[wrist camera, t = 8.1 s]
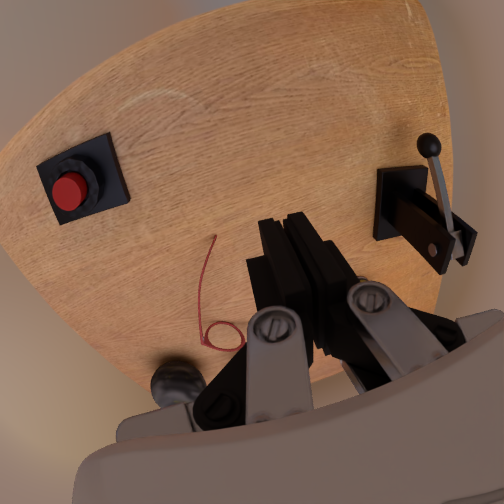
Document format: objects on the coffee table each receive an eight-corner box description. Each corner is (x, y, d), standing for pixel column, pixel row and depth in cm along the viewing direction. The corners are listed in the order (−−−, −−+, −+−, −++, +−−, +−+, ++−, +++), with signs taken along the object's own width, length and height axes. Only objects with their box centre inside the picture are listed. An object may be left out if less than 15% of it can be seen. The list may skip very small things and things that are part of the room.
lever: (408, 137, 24) (423, 128, 21) (426, 137, 24) (441, 129, 21) (434, 259, 25) (451, 261, 22) (451, 253, 25) (468, 254, 22)
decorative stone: (179, 343, 42) (178, 396, 34) (216, 367, 47) (220, 414, 39) (141, 361, 44) (136, 408, 36) (178, 382, 49) (178, 425, 41)
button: (66, 207, 24) (60, 214, 22) (55, 178, 22) (47, 184, 20) (92, 198, 24) (85, 205, 22) (80, 167, 22) (73, 172, 20)
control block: (63, 220, 27) (53, 233, 25) (41, 163, 23) (27, 171, 20) (130, 198, 27) (123, 210, 25) (109, 131, 23) (99, 137, 20)
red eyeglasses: (190, 323, 40) (190, 350, 35) (204, 232, 31) (204, 257, 27) (295, 329, 44) (303, 353, 40) (334, 251, 36) (349, 274, 31)
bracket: (377, 168, 29) (446, 217, 19) (423, 164, 30) (490, 207, 19) (372, 236, 35) (423, 298, 25) (414, 227, 35) (467, 279, 25)
